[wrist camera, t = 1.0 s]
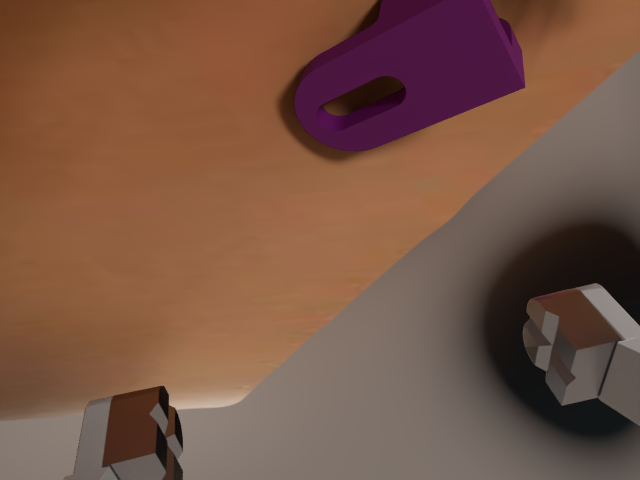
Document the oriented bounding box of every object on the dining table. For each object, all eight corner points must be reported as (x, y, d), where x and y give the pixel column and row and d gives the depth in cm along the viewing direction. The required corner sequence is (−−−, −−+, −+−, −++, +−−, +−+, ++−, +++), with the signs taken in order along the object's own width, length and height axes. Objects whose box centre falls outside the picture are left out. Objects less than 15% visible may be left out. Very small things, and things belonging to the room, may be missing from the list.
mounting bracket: (347, 107, 56) (519, 27, 46) (334, 163, 51) (525, 87, 41) (291, 35, 51) (474, -73, 41) (272, 91, 46) (475, -17, 36)
